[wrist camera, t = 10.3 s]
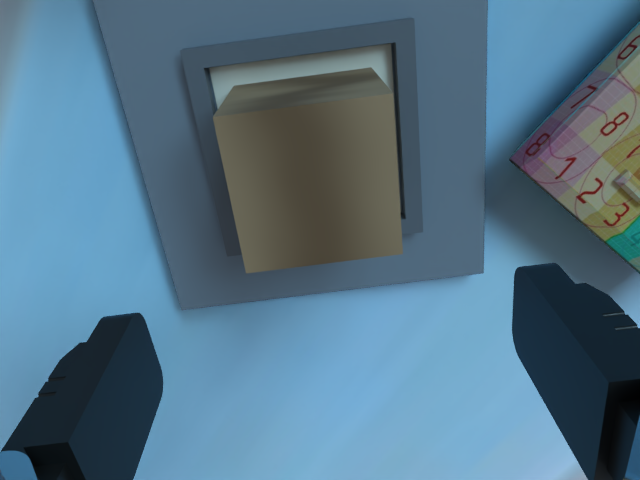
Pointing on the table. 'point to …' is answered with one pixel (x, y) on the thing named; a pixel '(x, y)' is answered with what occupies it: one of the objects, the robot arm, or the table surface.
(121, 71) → the slate gray baseplate
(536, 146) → the puzzle game
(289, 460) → the table surface
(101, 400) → the robot arm
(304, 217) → the walnut block
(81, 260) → the table surface
